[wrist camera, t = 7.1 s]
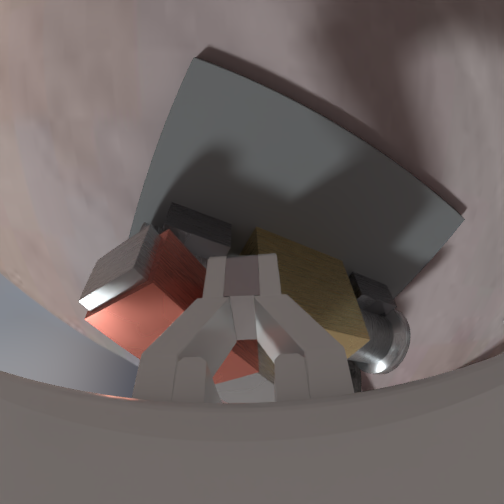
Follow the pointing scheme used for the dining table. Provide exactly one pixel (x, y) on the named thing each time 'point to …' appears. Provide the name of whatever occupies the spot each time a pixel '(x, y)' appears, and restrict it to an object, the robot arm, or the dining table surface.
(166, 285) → the lever
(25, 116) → the dining table surface
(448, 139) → the dining table surface
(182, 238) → the pipe valve
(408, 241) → the mat
